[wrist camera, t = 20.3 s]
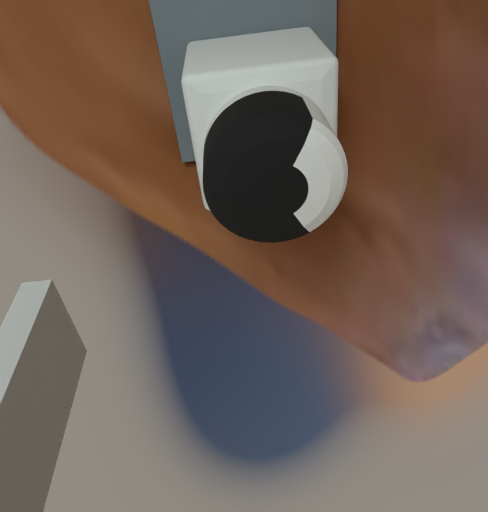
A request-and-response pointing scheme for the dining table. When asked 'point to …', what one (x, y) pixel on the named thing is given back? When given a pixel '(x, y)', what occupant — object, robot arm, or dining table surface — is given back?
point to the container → (266, 131)
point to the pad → (225, 25)
